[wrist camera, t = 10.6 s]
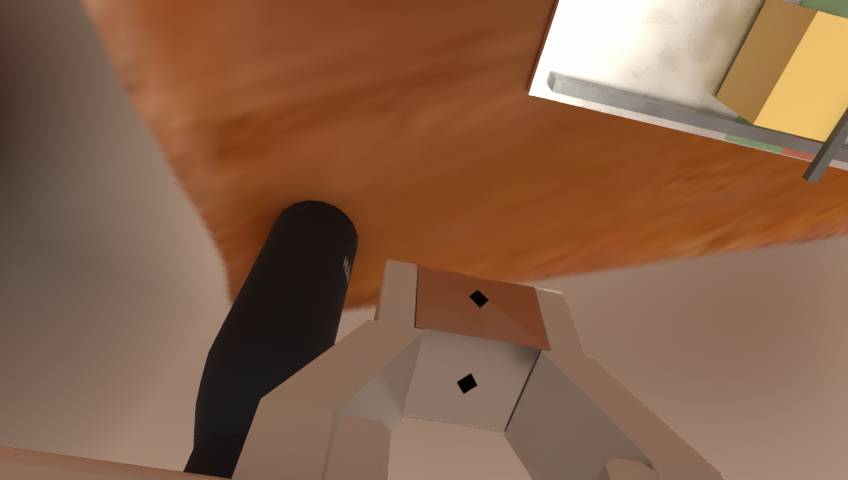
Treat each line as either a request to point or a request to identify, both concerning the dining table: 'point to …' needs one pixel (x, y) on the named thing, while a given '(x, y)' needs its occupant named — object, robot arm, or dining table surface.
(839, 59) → the block
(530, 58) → the dining table surface
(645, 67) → the track
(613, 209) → the dining table surface
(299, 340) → the wine bottle
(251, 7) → the dining table surface
